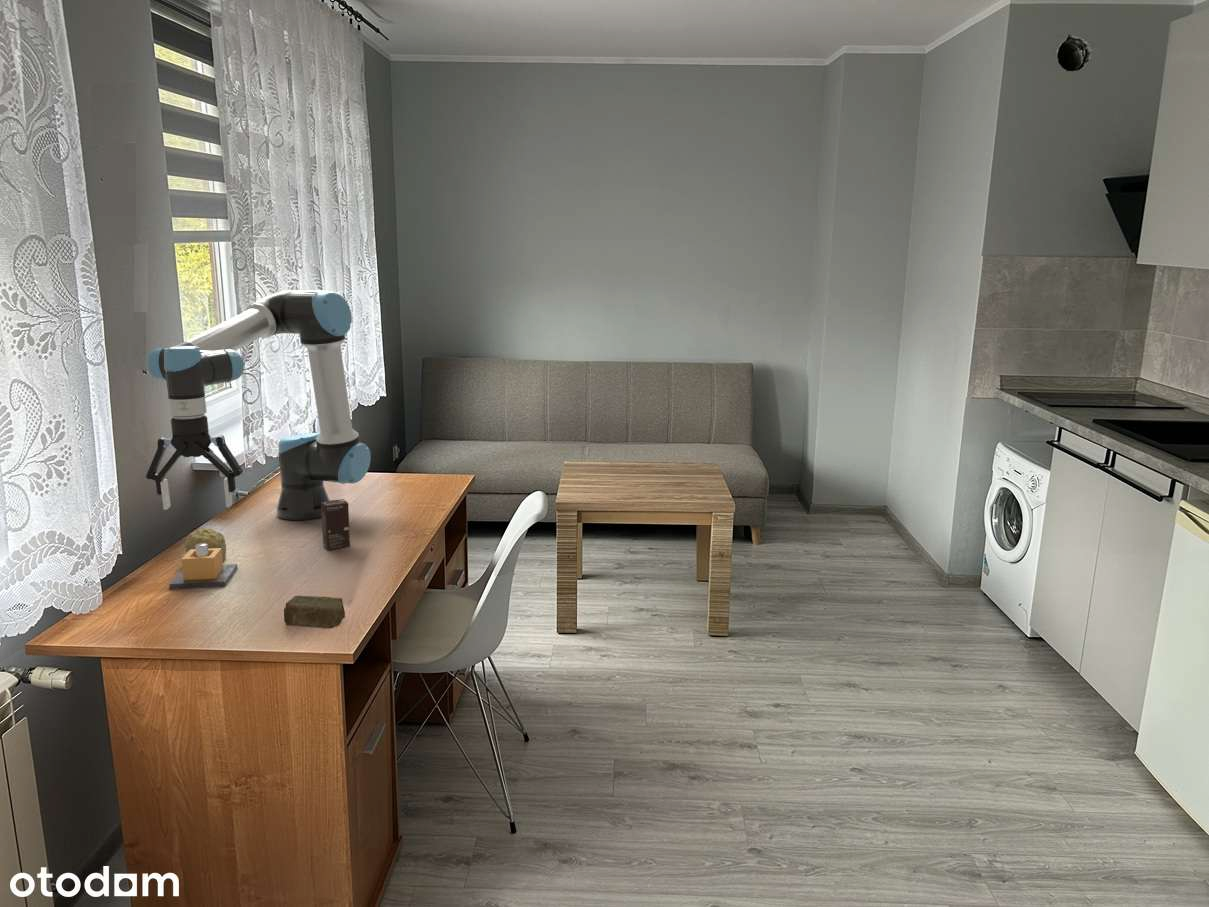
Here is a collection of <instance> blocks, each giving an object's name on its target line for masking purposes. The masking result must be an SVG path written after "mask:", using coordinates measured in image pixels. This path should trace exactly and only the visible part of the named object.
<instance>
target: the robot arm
mask: <svg viewBox="0 0 1209 907" xmlns="http://www.w3.org/2000/svg"><path fill="white" fill-rule="evenodd" d="M350 307H351V306H350V305H349V303H348V300H346V299H345V298H344V297H343V296H342V295H341V294H340V293H339V292H335V291H329V290H328V291H327V290H325V289H322V290H321V289H320V290H319V289H315V290H314V289H312V290H309V289H305V290H300V289H299V290H296V289H289V290H288V289H287V290H283V291H279V292H276V293H273V294H271V295H267V296H266V297H263V298H261V299H259V300H257V301H255V302H253V303H251V304H249V305H248V306H246V309H245V311H244V312H242V313H240V314H237V315H236V316H234V317H232V318H230V319H228V320H225V321H223V322H221V323H220V324H218V325H216V326H213V327H211V328H209V329H207V330H206V331H204V332H201V333H199V334H197V335H195V336H193V337H191V338H189V339H186V340H185V341H183V342H180V343H179V344H177V345H174V346H170V347H162V348H161V347H159V348H158V347H157V348H155V349H153V350H152V351H150V352H149V354H148V356H147V359H146V368H147V370H148V372H149V374H150V375H151V377H153V378H155V379H157V380H162V381H166V388H167V389H166V390H167V398H168V405H169V406H168V408H169V415H170V416H171V419H170V425H171V426H170V427H171V434H172V437H171V438H168V437H166V436H162V437H159V439H158V440H157V447H156V448H157V449H156V451H155V454H154V456H153V458H152V462H151V463H150V466H149V468H148V469H147V470H148V471H147V473H146V475H145V478H146V479H147V480H153V481H154V482H155V485H156V486H155V487H156V494H157V495H158V496H161V499H162V506H163V507H162V509H163V511H165V510H166V511H167V510H168V509H169V508H171V497H170V489H169V488H170V487H169V481H168V478H165V477H166V475H167V474H168V473H169V471H170V470H171V469H172V467H173V466H174V465H175V464H176V463H177V461H178V460H179V459H180V457H182V456H183V457H184V458H191V457H193V458H199V457H201V456H202V457H203V458H204V459H206V460H208V461H209V462H210V463H211V464H212V465H213V466H214V467H215V468H216V469H217V470H218V471H219V472H220V473H221V474H222V475H223V476H224V477H225V478H224V479H223V486H224V487H223V489H224V496H225V497H224V498H225V507H226V508H231V507H232V505H233V495H232V494H233V493H234V492H235V491H236V479H235V478H236V477H239V476H240V475H241V474H243V469H242V467H241V466H240V464H239V463H238V461H237V459H236V458H235V456H234V454H233V453H232V452H231V450H230V449H229V447H228V445H227V443H226V439H225V436H224V435H223V434H220V435H218V436H212V437H211V436H210V433H209V423H208V416H207V415H205V414H207V403H206V393H205V387H207V386H212V385H218V384H223V383H230V382H233V381H235V380H236V381H237V380H238V379H240V377H241V376H243V373H244V371H245V370H244V369H245V367H244V366H245V365H244V359H243V358H242V356H241V354H240V353H239V352H237V351H238V350H240V349H241V348H243V347H246V346H247V345H249V344H251V343H253V342H254V341H256V340H258V339H260V338H262V339H269V338H271V337H272V336H275V335H280V334H294V335H295V334H298V335H299V340H300V344H301V345H302V346H304V347H305V348H306V349H307V352H308V353H307V354H308V359H309V367H310V373H311V380H312V386H313V391H314V392H313V393H314V399H315V405H316V410H317V413H316V414H317V418H318V425H319V432H320V433H318V432H308V433H302V434H295V435H289V436H286V437H283V438H281V439H280V440H279V442H278V461H279V464H278V465H279V472H280V474H279V475H280V483H281V490H280V494H279V499H278V501H277V505H276V516H277V517H278V518H280V519H283V520H288V521H303V520H307V521H308V520H313V519H317V518H322V510H321V502H326V501H331V500H330V498H329V494H328V493H327V490H326V488H325V485H324V482H328V483H329V482H330V483H337V484H342V485H346V484H352V485H353V484H356V483H358V482H360V481H361V480H362V479H364V477H365V476H366V475H367V472H368V471H369V468H370V464H371V450H370V448H369V447H368V445H367V444H365V443H363V442H360V435H359V432H358V431H356V430H355V429H354V428H353V425H352V424H353V423H352V418H351V411H350V403H349V397H348V391H347V390H348V389H347V382H346V376H345V369H344V361H343V354H342V349H341V348H342V347H341V346H342V344H343V343H344V342H345V340H346V334H347V333H349V331H350V329H351V324H352V320H353V318H352V310H351V308H350ZM211 444H214V446H215V447H217V448H218V451H219V452H220V453H221V455H222V457H223V459H224V461H226V463H227V464H226V463H225V462H224V461H223V460H222V459H221V458H220V457H219V456H218V455H216V453H215V451H213V449H212V448H210V446H211ZM170 445H171V446H172V447H173V448H174V449H175V452H173V454H172V455H171V457H170V458H169V459H168V461H167V462H166V463H165V465H164V466H163V467H162V468H161V470H159V472H158V473H157V471H158V469H159V467H160V465H161V462H162V460H163V456H164V454H165V452H166V449H167V448H168V447H170ZM164 478H165V479H164Z"/></svg>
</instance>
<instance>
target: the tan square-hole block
mask: <svg viewBox="0 0 1209 907" xmlns="http://www.w3.org/2000/svg"><path fill="white" fill-rule="evenodd" d="M208 555H209V556H201V557H196V549H190V550H189V551H188V552H187V554H186V553H185V554H184V555H183V557H182V558H181V566H182V569H181V570H183V579H184V580H193V579H214V578H216V577H217V576H218V575H219V573H220V572H221V571H222V569H223V565H224V560H223V559H222V548H212V549H208Z"/></svg>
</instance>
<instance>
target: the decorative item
mask: <svg viewBox="0 0 1209 907" xmlns="http://www.w3.org/2000/svg"><path fill="white" fill-rule="evenodd" d="M201 543H206V544H208V549H212V548H222V559H223V561H225V560H226V559H227V558H226V557H227V556H226V555H227V544H226V539H225V537H224V535H223V534H222V533H221V532H218V531H217V530H214V529H213V528H207V527H204V528H202V529H197V530H195V531H193V532H191V533H189V535H188V536H187V538H186V540H185V543H184V548H185V555H186V554H187V552H188V551H189V550H190V549H196V548H195V545H197V544H201Z"/></svg>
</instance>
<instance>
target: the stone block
mask: <svg viewBox="0 0 1209 907" xmlns="http://www.w3.org/2000/svg"><path fill="white" fill-rule="evenodd" d="M344 607H345V606H344V601H343V598H341V597H331V596H316V595H314V596H312V595H294V596H293V597H292V598H291V599H289V600H288V601H287V602H286V604H285V607H284V609H283V621H284V623H285V625H286V626H294V627H304V628H305V627H307V628H309V627H310V628H317V629H318V628H319V629H333V628H335V627H338V626H339V625H341V623H342V621H343V619H346V610H345V608H344Z"/></svg>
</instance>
